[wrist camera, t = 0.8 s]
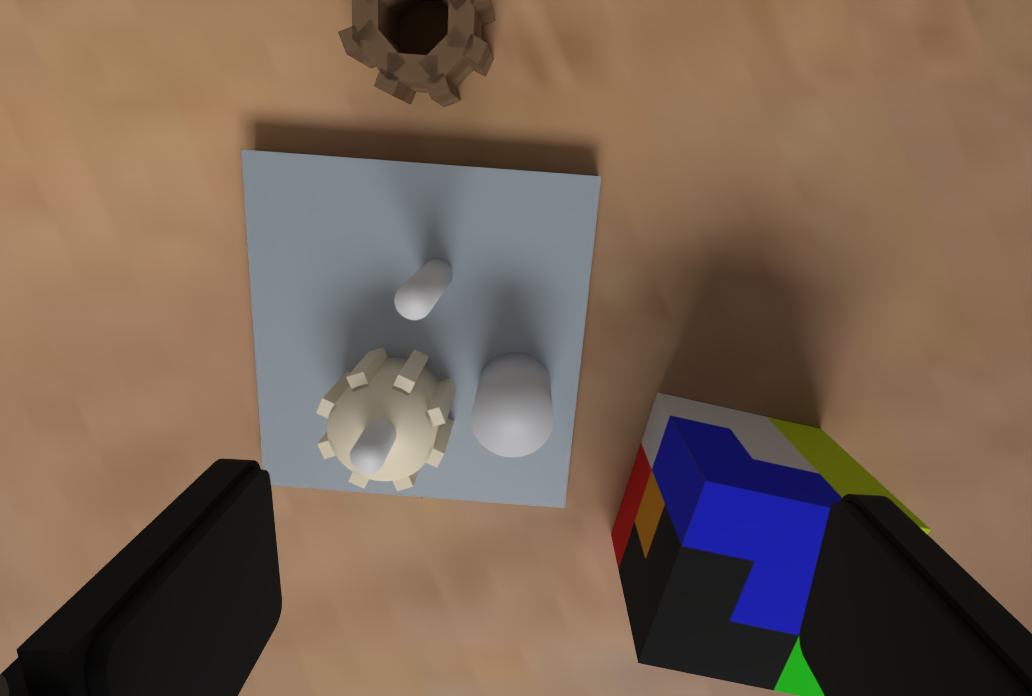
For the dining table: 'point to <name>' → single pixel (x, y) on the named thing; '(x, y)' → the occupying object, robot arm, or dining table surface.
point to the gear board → (418, 324)
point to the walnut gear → (406, 74)
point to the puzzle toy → (729, 540)
